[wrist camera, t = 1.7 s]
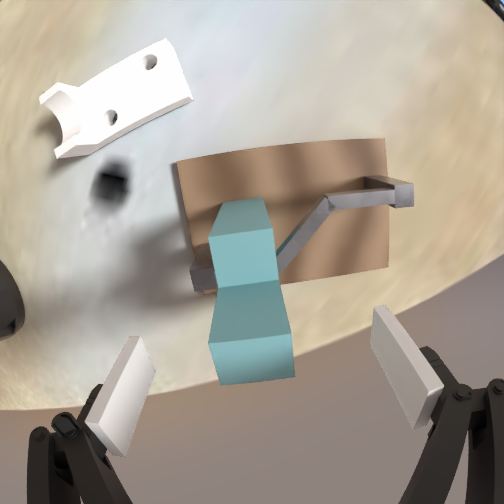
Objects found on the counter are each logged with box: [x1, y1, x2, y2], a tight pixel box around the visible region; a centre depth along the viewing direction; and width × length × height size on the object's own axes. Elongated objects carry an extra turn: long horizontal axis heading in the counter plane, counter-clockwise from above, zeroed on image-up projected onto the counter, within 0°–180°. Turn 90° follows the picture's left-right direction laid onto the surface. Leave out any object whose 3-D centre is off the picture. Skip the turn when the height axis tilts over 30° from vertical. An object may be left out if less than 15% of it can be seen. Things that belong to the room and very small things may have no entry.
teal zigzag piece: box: [208, 197, 295, 385], centre depth 22 cm, size 4×10×18 cm, turn 8°
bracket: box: [39, 39, 194, 159], centre depth 23 cm, size 13×7×8 cm, turn 110°
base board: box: [177, 138, 389, 295], centre depth 30 cm, size 22×15×1 cm
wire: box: [190, 175, 414, 292], centre depth 26 cm, size 21×4×7 cm, turn 118°
